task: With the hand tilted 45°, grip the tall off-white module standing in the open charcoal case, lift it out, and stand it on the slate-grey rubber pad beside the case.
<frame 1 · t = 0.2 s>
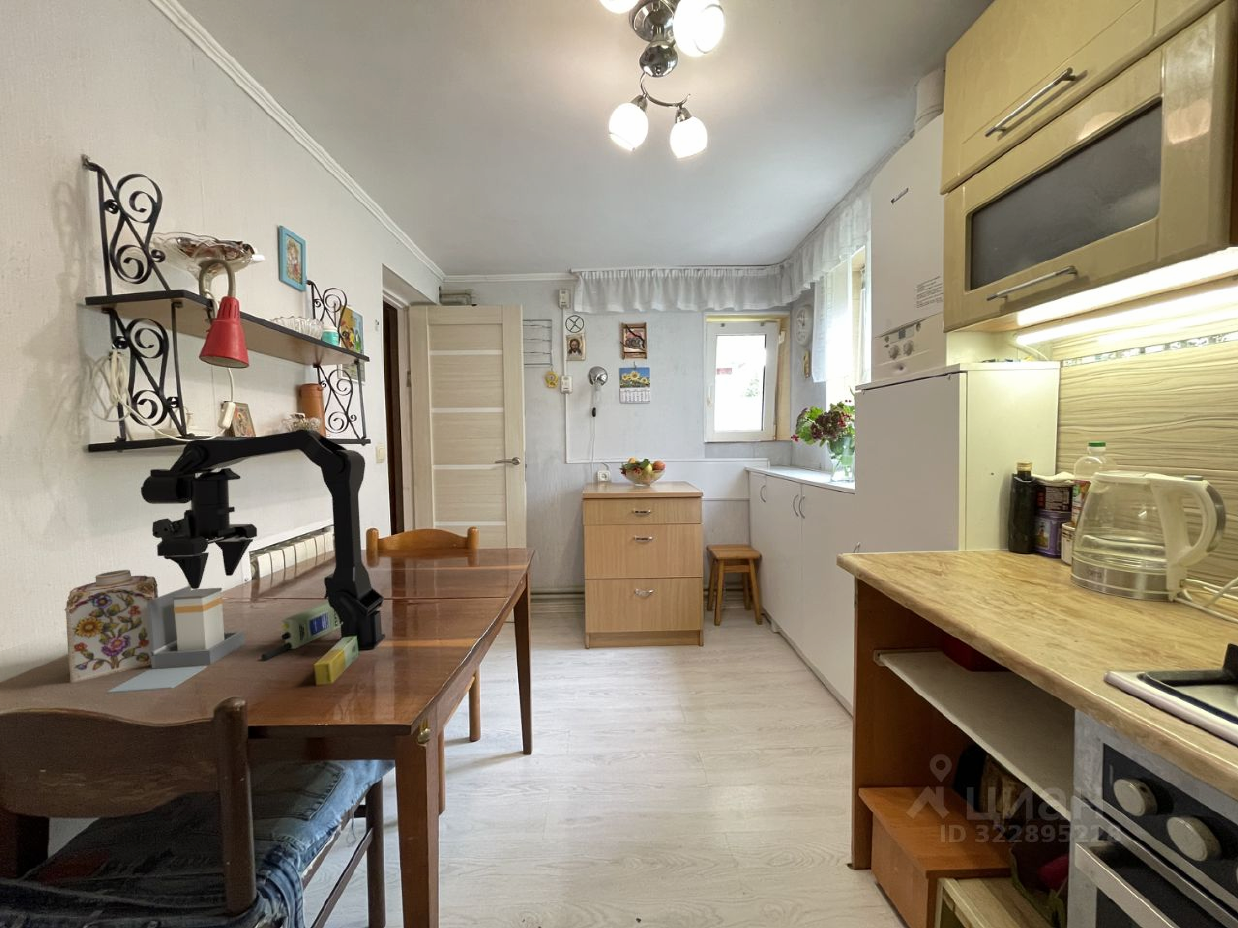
hand: (213, 581, 97), 15 cm above the table, tool pointing down, fingers open, 9 cm apart
medication box: (338, 670, 89), on the table
case: (202, 656, 96), on the table
pad: (159, 681, 86), on the table
handheld radio: (317, 638, 105), on the table
module: (202, 654, 96), resting on case
decorative jar: (120, 665, 94), on the table
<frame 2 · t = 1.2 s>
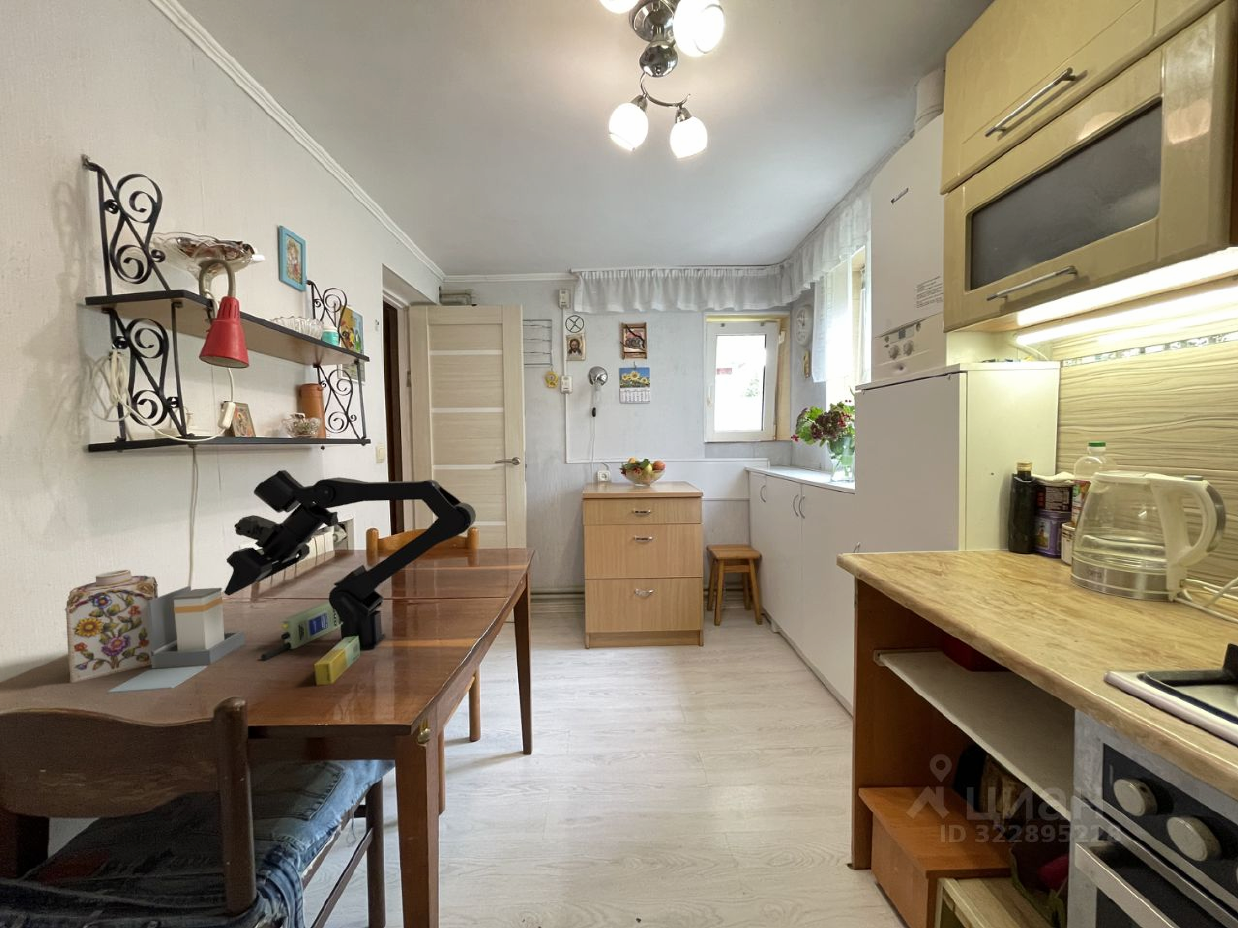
hand: (242, 586, 97), 13 cm above the table, tool tilted 45°, fingers open, 9 cm apart
nothing on the table moved.
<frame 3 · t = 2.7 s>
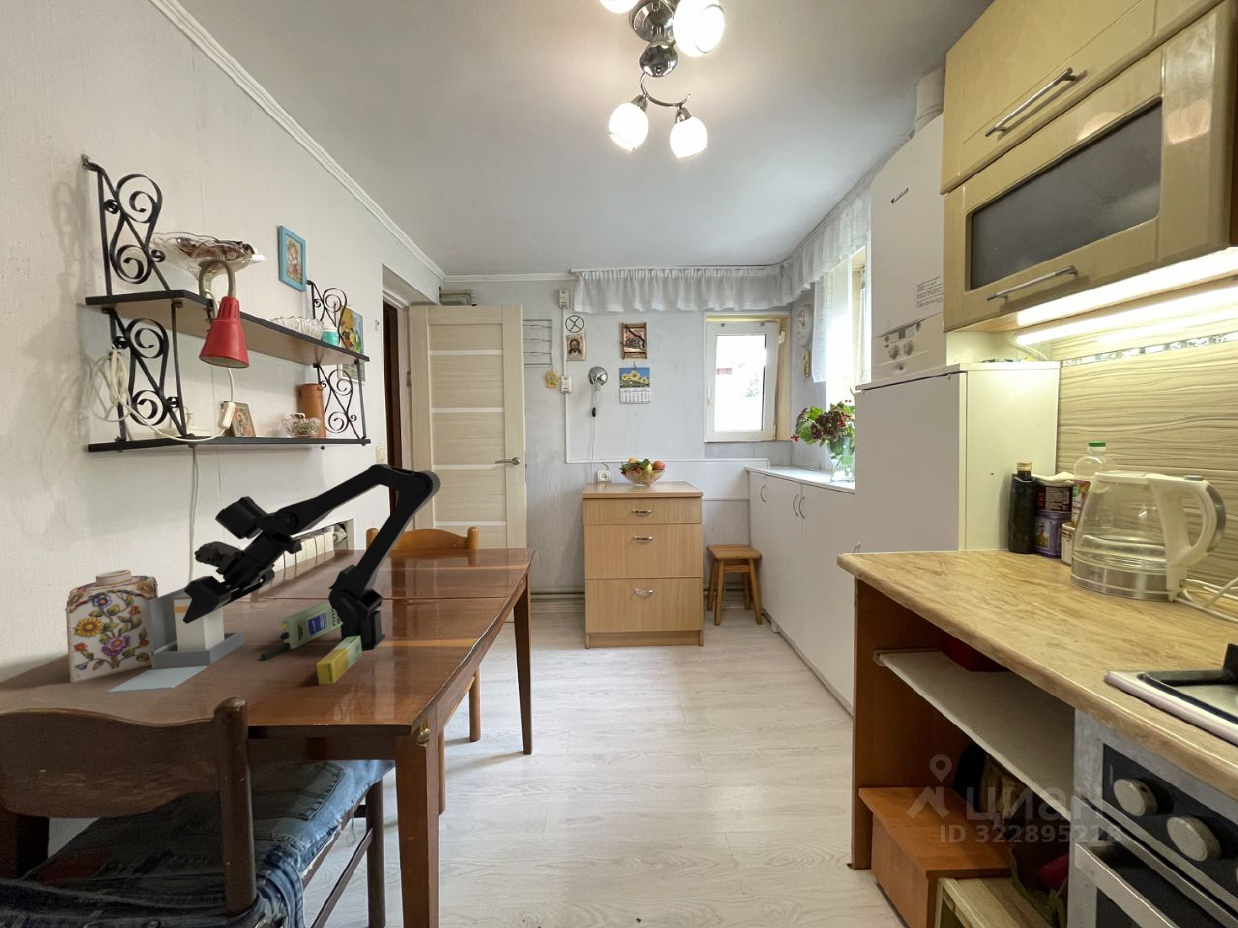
hand: (202, 613, 96), 9 cm above the table, tool tilted 45°, fingers open, 9 cm apart
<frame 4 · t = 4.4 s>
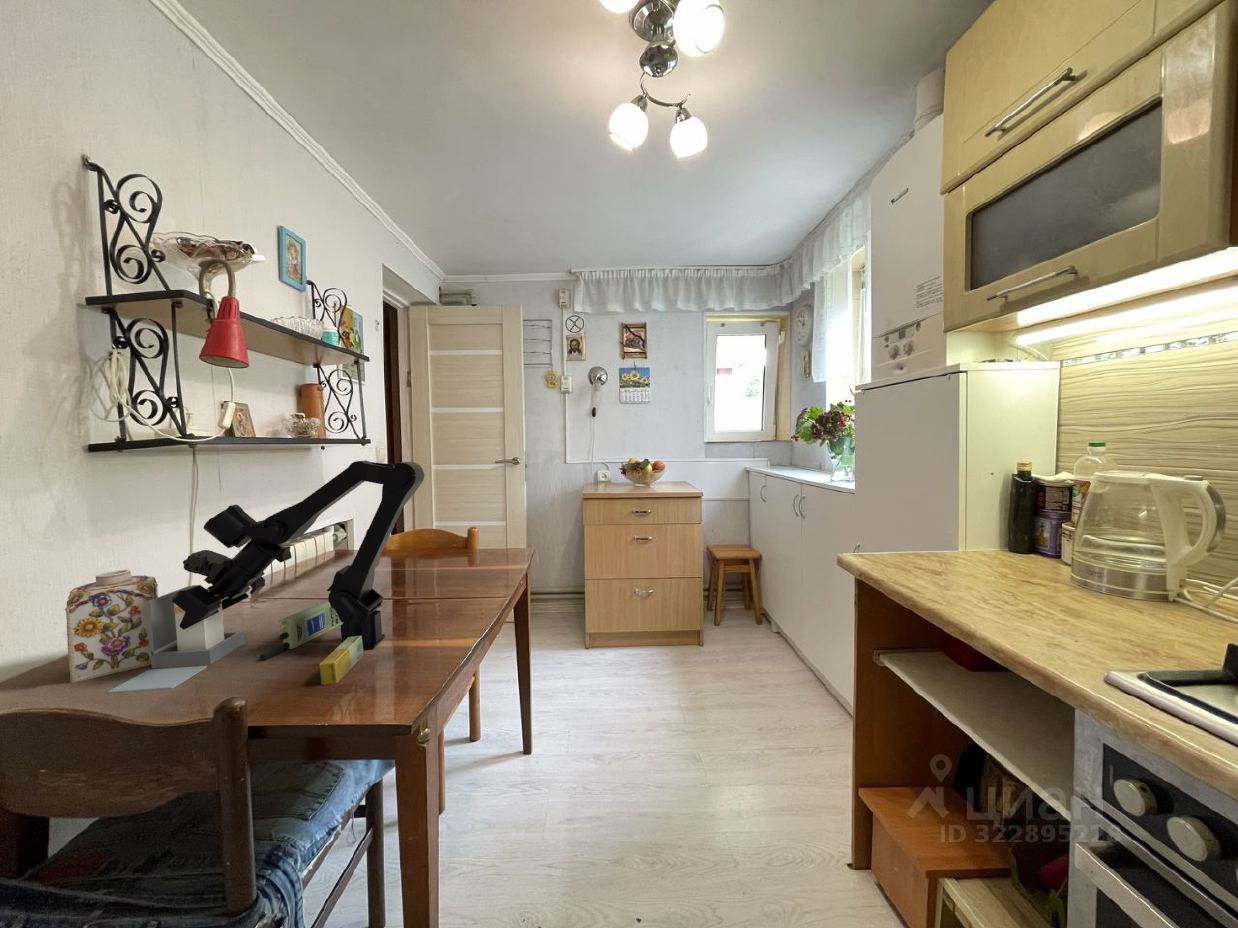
hand: (192, 622, 96), 7 cm above the table, tool tilted 45°, fingers closed on module, 5 cm apart
module: (202, 654, 96), resting on case, touching gripper
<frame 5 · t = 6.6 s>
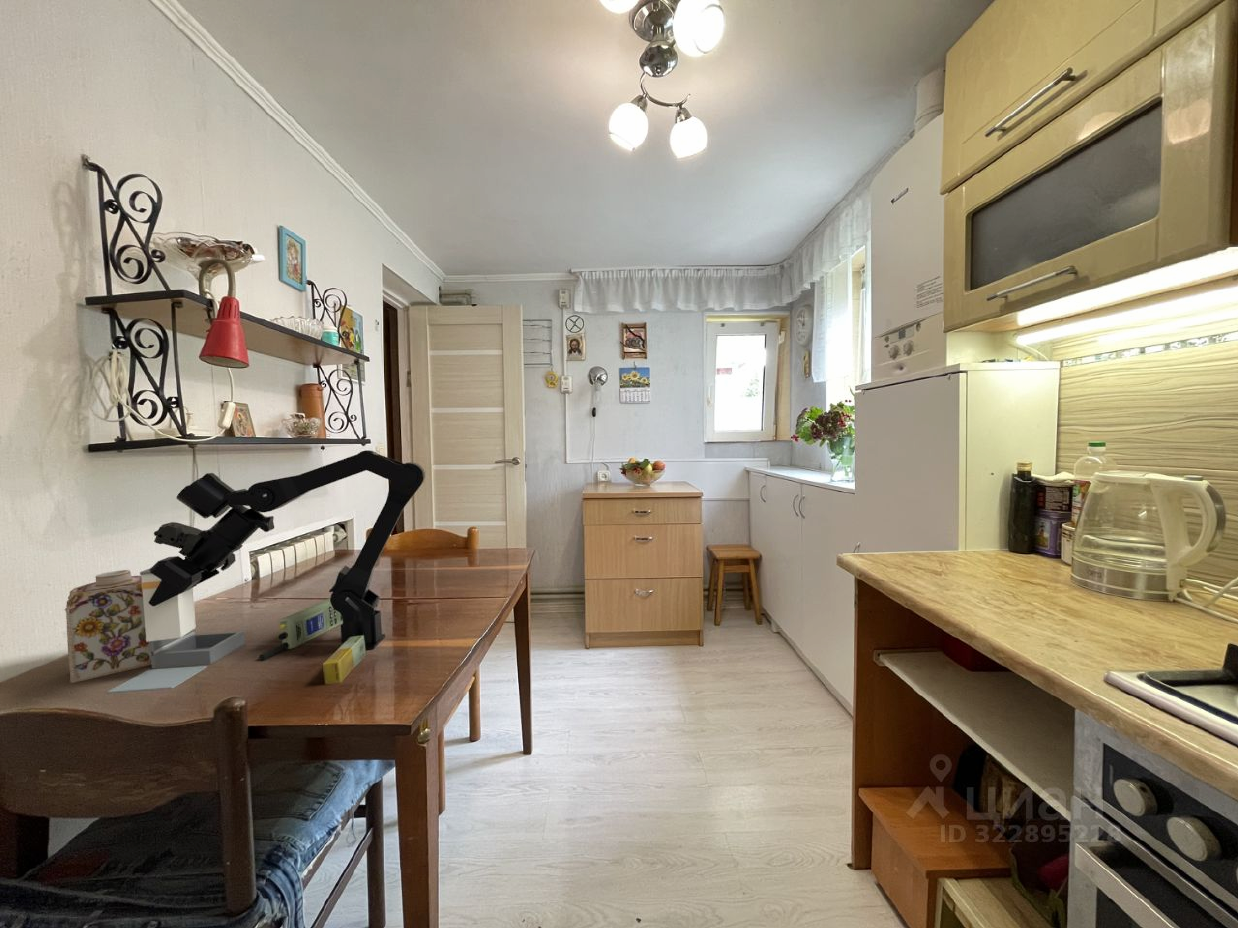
hand: (159, 600, 89), 14 cm above the table, tool tilted 45°, fingers closed on module, 5 cm apart
module: (171, 634, 90), point 7 cm above the table, touching gripper
when the fingers open (8 cm above the table, at t = 9.0 s): module stays where it is, resting on pad.
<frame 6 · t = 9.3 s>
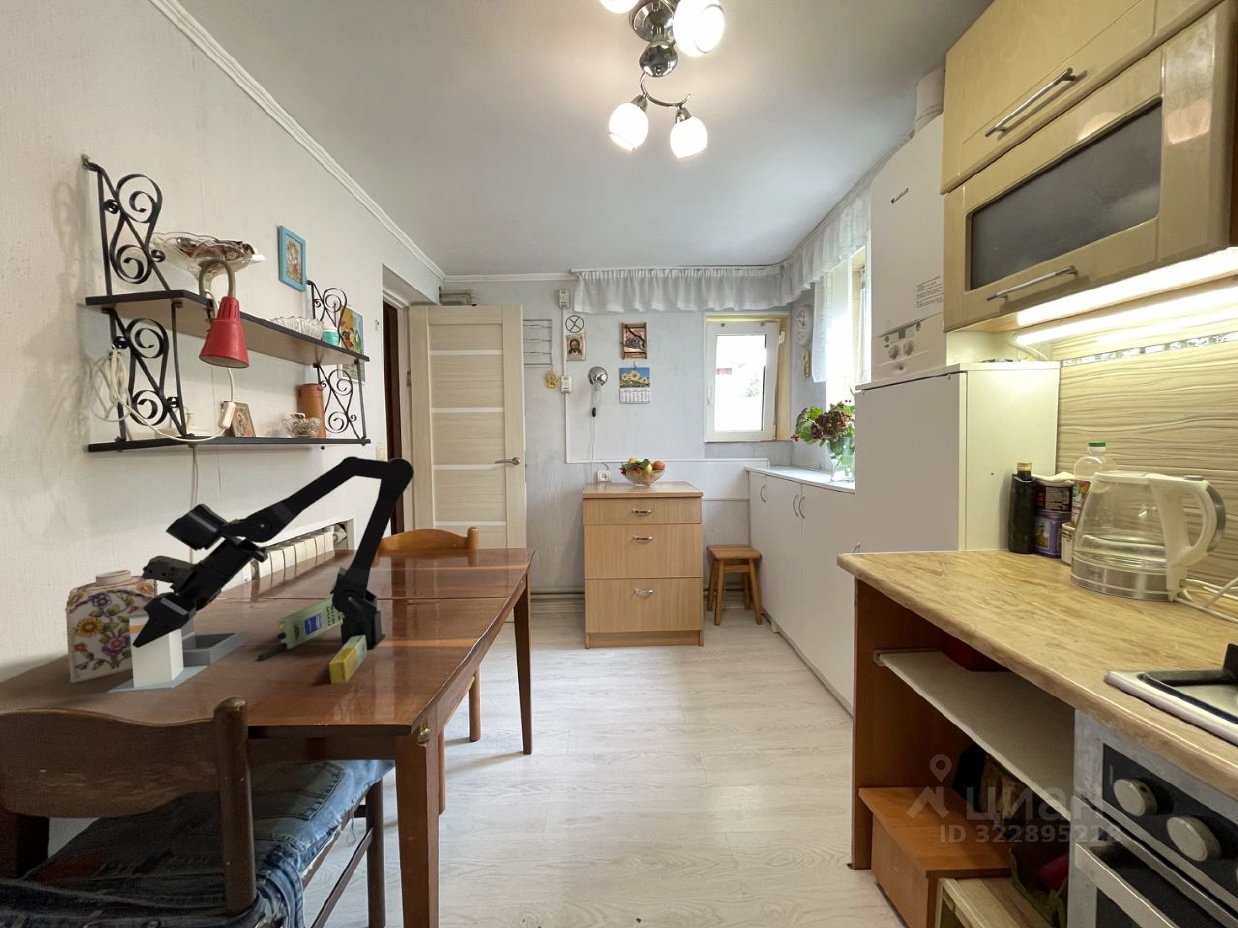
hand: (146, 637, 85), 8 cm above the table, tool tilted 45°, fingers open, 8 cm apart
module: (159, 678, 86), point 1 cm above the table, touching pad
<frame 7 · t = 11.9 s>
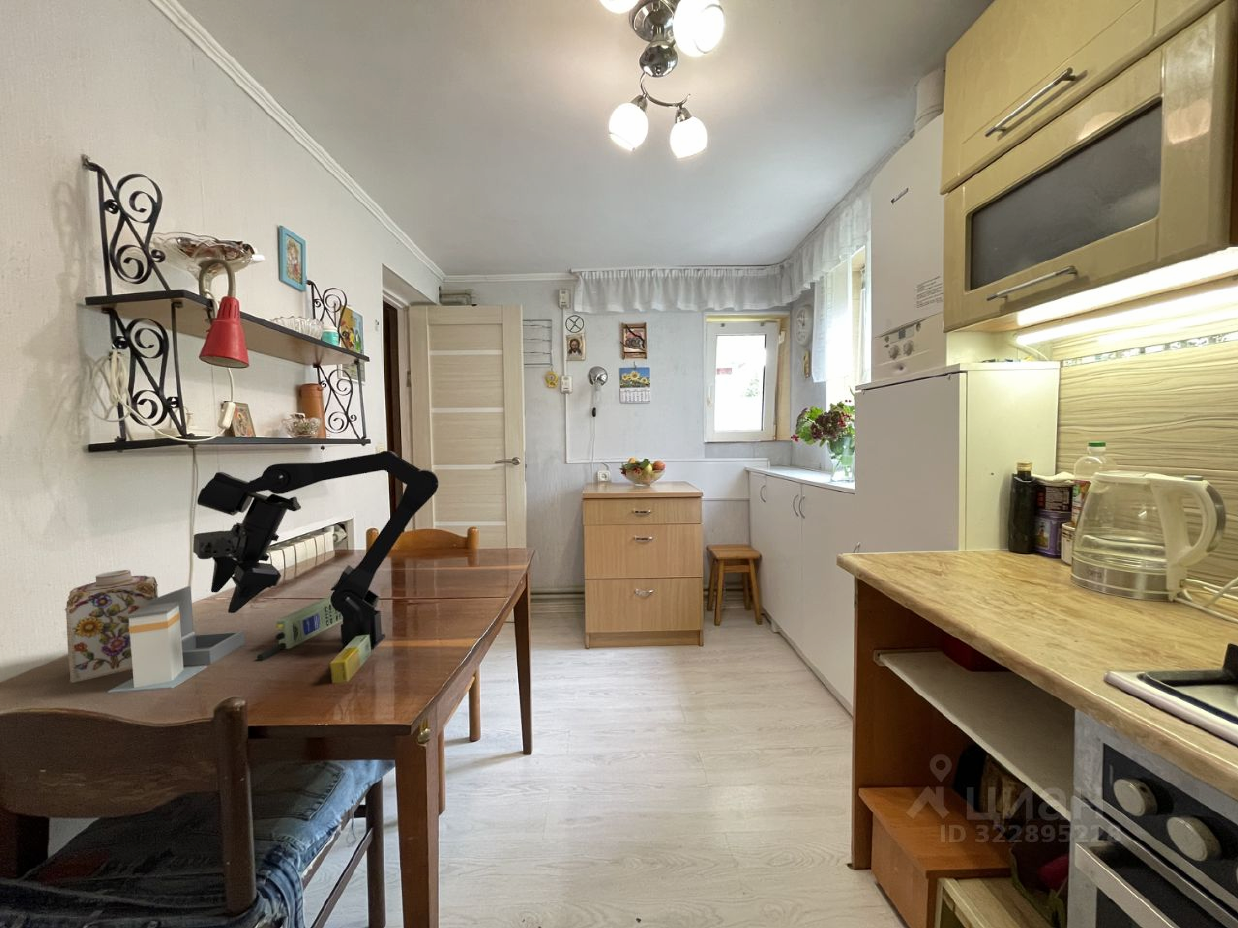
hand: (222, 602, 91), 12 cm above the table, tool tilted 25°, fingers open, 9 cm apart
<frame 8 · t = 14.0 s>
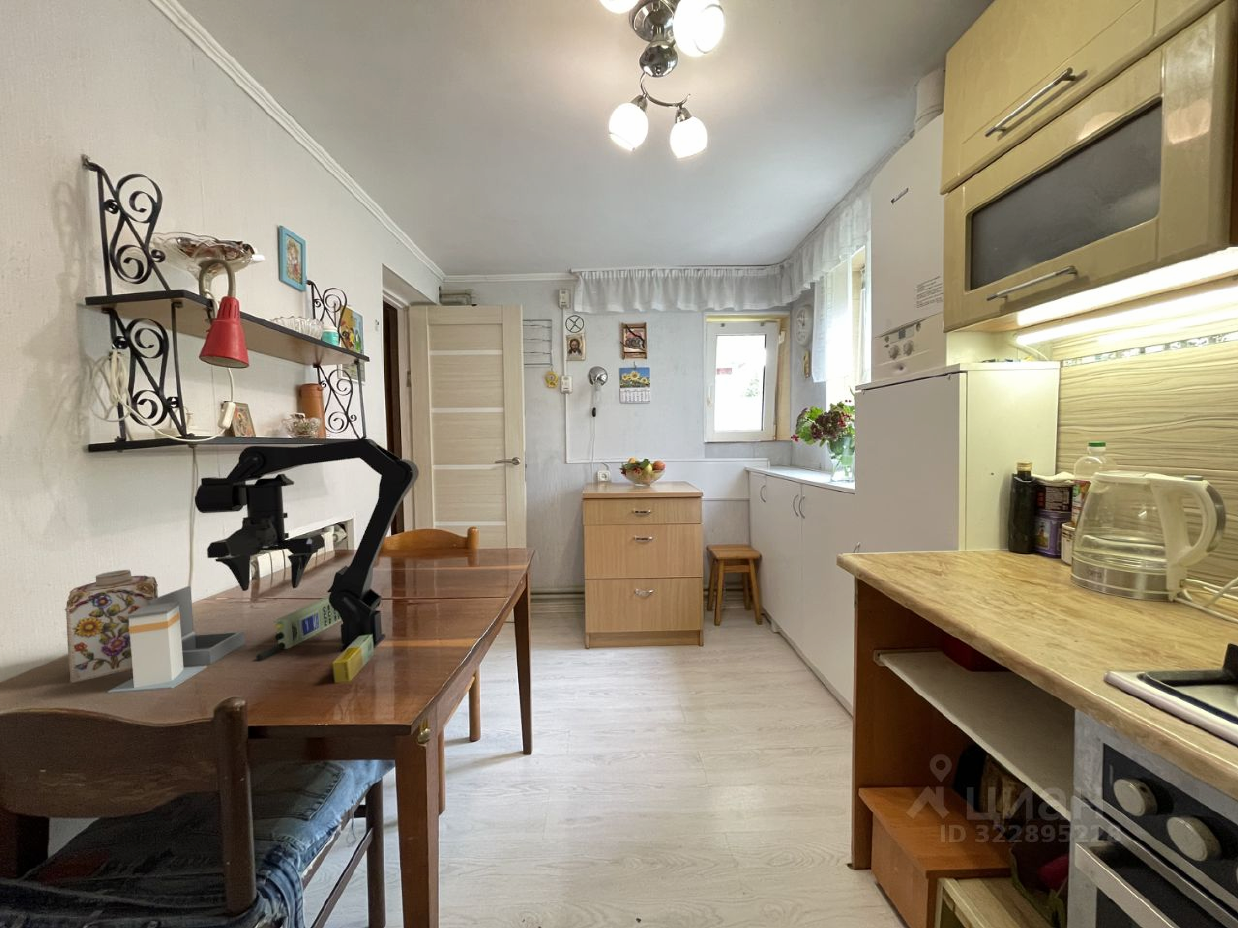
hand: (270, 588, 96), 13 cm above the table, tool pointing down, fingers open, 9 cm apart
at the end: module 0.0 cm off-centre on the pad, point 0.6 cm above the pad's base; module tilted 0°; the gripper is holding nothing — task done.
